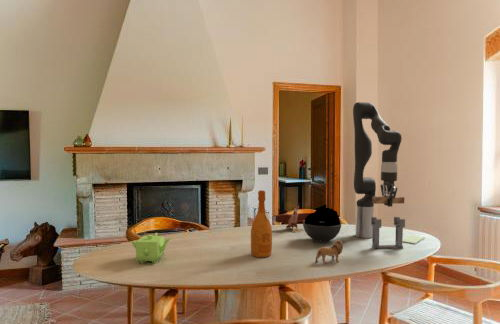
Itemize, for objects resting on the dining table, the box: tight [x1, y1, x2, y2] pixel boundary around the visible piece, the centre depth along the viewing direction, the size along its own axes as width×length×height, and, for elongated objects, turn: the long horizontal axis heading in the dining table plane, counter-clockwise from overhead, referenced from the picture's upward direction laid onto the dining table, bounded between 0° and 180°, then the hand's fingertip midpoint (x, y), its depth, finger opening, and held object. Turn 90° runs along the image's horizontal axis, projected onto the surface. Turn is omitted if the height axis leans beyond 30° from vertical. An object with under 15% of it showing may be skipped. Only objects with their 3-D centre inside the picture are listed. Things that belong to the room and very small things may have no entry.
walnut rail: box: [372, 196, 405, 205], centre depth 184 cm, size 15×3×3 cm, turn 95°
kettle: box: [130, 232, 173, 264], centre depth 162 cm, size 15×14×11 cm
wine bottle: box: [250, 189, 273, 258], centre depth 171 cm, size 10×10×30 cm
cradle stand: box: [371, 216, 406, 250], centre depth 184 cm, size 15×6×15 cm, turn 95°
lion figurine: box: [314, 239, 344, 265], centre depth 162 cm, size 15×5×9 cm, turn 117°
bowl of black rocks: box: [302, 204, 342, 243], centre depth 197 cm, size 20×20×19 cm
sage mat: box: [402, 234, 425, 245], centre depth 201 cm, size 17×8×1 cm, turn 140°
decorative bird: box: [271, 203, 311, 233], centre depth 221 cm, size 28×18×15 cm, turn 111°
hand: (388, 205), depth 184 cm, fingers closed on walnut rail, 3 cm apart
